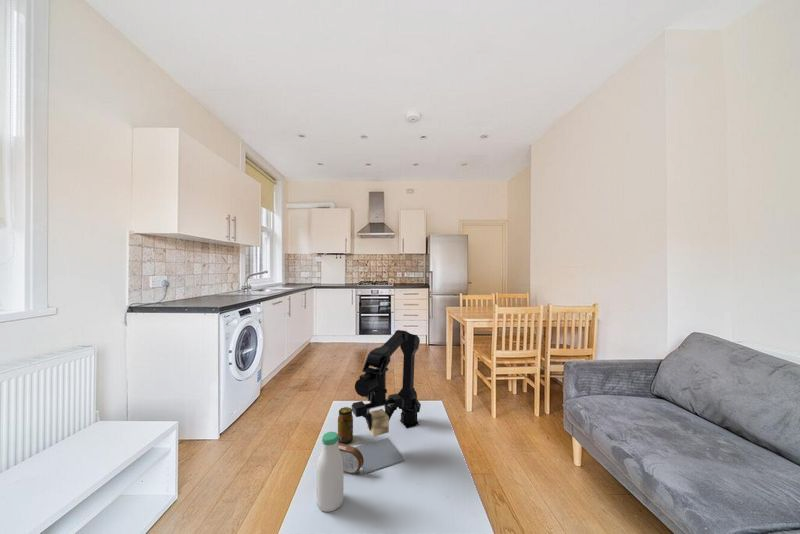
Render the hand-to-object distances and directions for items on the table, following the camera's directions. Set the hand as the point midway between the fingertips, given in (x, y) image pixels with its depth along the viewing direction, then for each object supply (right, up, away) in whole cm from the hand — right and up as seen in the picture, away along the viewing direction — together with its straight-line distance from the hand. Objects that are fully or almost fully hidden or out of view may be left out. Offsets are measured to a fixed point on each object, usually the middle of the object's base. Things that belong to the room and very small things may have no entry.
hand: (377, 427), depth 110 cm
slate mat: (0, -10, 0) cm, 10 cm away
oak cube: (0, -1, 0) cm, 1 cm away
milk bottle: (-13, -11, -22) cm, 27 cm away
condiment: (-13, -10, +9) cm, 19 cm away
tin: (-12, -11, -8) cm, 18 cm away
